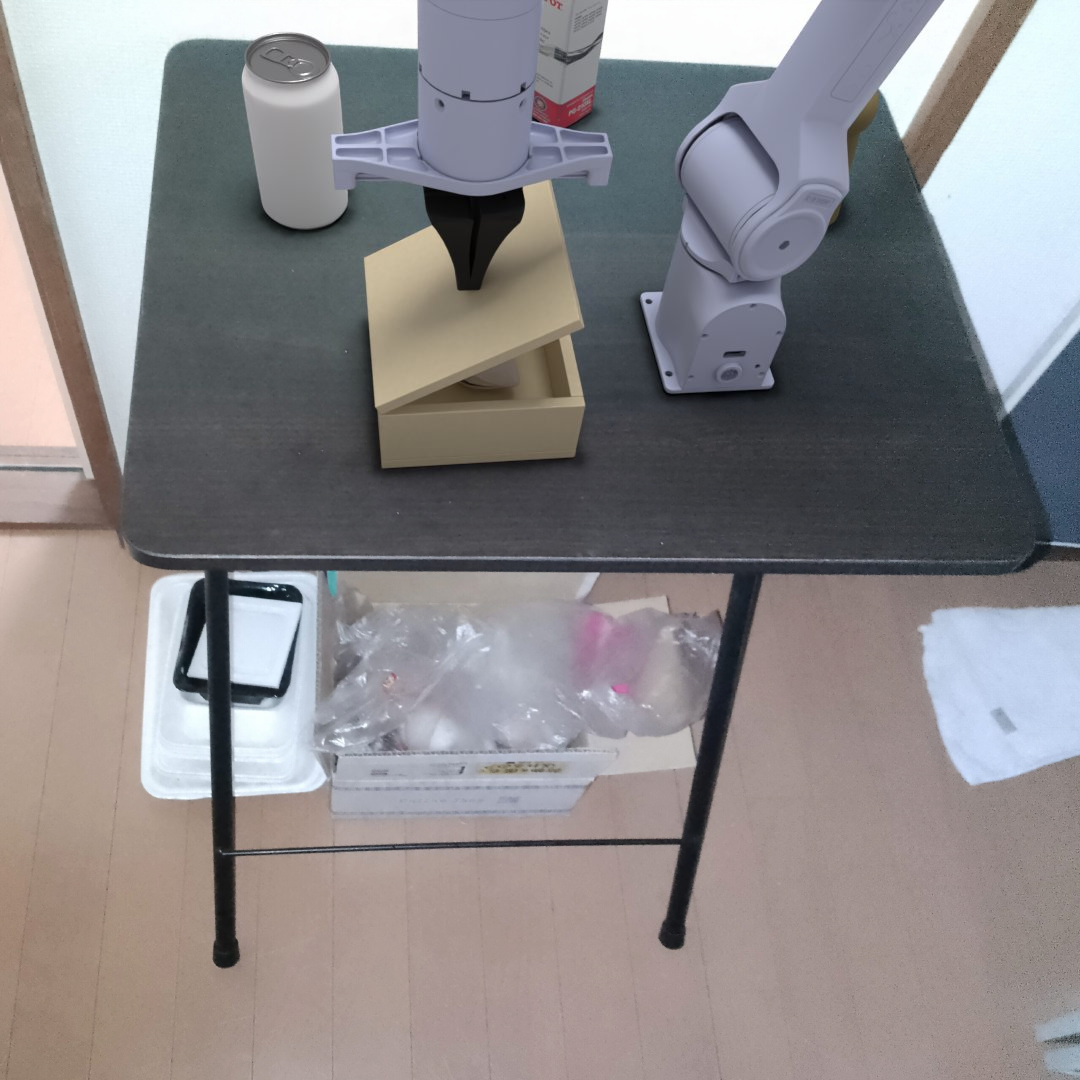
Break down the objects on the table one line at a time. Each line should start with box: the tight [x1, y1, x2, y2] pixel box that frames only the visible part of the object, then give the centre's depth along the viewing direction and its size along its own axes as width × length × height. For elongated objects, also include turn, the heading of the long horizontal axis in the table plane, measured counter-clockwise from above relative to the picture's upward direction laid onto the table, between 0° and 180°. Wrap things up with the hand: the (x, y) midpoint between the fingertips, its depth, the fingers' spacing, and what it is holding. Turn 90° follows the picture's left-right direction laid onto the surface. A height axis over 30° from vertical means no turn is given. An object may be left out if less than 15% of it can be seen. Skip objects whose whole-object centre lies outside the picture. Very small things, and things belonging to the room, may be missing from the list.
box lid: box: [363, 179, 585, 414], centre depth 60 cm, size 13×13×1 cm
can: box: [241, 31, 349, 231], centre depth 71 cm, size 6×6×12 cm
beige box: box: [376, 334, 586, 469], centre depth 65 cm, size 13×13×5 cm
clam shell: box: [459, 358, 520, 389], centre depth 66 cm, size 4×5×2 cm
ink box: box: [532, 0, 609, 129], centre depth 81 cm, size 8×5×12 cm, turn 47°
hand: (467, 278), depth 59 cm, fingers closed
